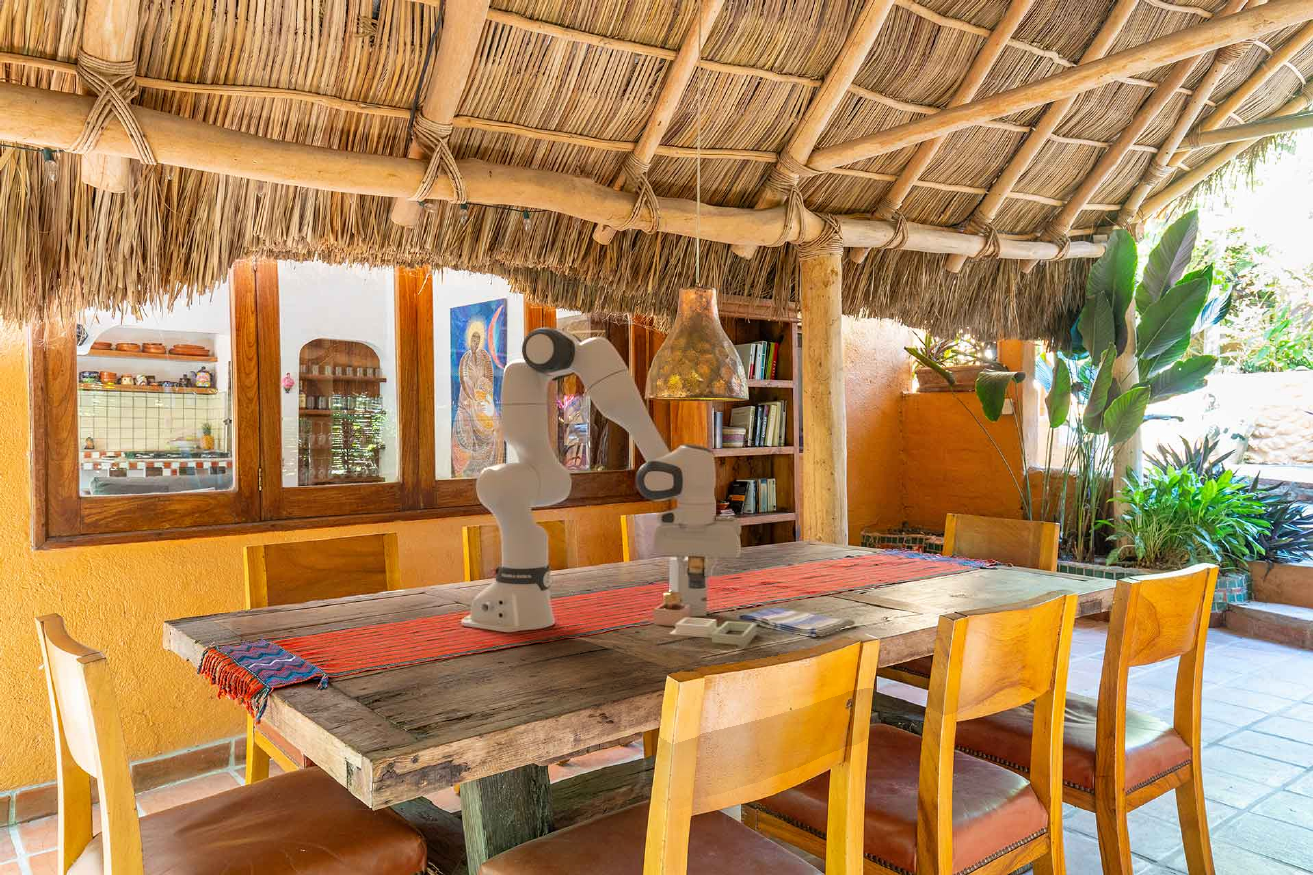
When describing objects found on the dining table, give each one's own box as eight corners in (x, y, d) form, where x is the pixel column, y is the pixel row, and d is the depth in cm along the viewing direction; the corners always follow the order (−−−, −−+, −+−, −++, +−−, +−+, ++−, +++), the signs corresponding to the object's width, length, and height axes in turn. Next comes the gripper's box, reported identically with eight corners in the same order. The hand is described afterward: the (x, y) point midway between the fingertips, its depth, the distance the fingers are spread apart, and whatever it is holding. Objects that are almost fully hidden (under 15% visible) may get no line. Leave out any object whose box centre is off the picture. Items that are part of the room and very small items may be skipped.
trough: (712, 645, 189) (712, 633, 189) (726, 632, 201) (726, 621, 201) (743, 648, 186) (743, 636, 186) (756, 634, 199) (756, 623, 199)
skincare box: (677, 621, 213) (677, 560, 212) (667, 616, 218) (667, 557, 218) (708, 618, 216) (708, 558, 216) (697, 613, 221) (697, 555, 221)
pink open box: (653, 627, 206) (653, 609, 206) (662, 621, 212) (662, 603, 212) (681, 629, 203) (681, 611, 203) (690, 623, 210) (690, 605, 210)
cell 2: (686, 588, 197) (685, 554, 197) (690, 585, 201) (690, 552, 201) (703, 589, 196) (702, 555, 196) (707, 586, 200) (707, 553, 200)
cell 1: (661, 623, 207) (661, 591, 206) (667, 619, 210) (666, 588, 210) (677, 624, 205) (676, 592, 205) (682, 620, 209) (682, 589, 209)
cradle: (669, 637, 196) (669, 624, 196) (681, 628, 204) (681, 616, 204) (712, 641, 193) (712, 627, 193) (722, 631, 201) (722, 619, 201)
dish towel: (815, 641, 195) (815, 629, 195) (735, 624, 212) (735, 612, 212) (858, 628, 207) (858, 617, 207) (779, 613, 224) (779, 602, 224)
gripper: (744, 515, 198) (744, 575, 198) (659, 512, 204) (659, 571, 205) (737, 517, 192) (738, 580, 192) (650, 515, 198) (650, 575, 199)
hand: (696, 575), depth 198 cm, fingers closed on cell 2, 4 cm apart
